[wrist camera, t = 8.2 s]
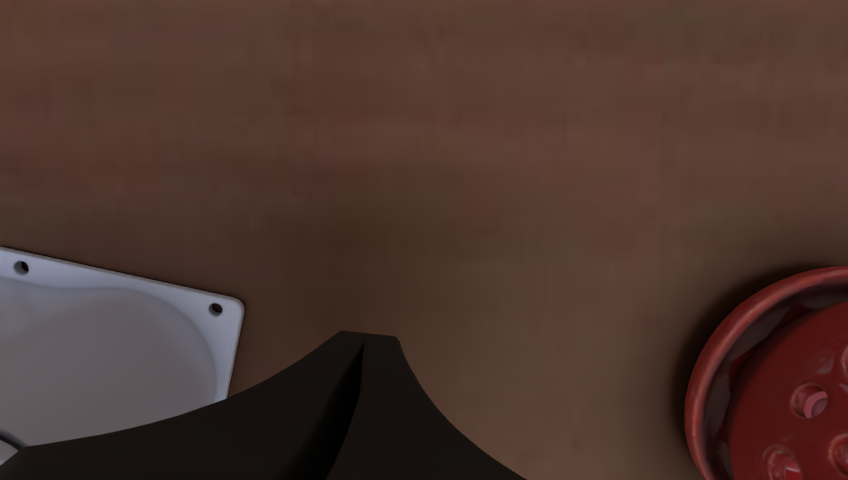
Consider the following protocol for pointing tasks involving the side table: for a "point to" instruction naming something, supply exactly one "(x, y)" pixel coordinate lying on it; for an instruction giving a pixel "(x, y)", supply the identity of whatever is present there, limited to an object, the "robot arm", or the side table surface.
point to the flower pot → (775, 385)
